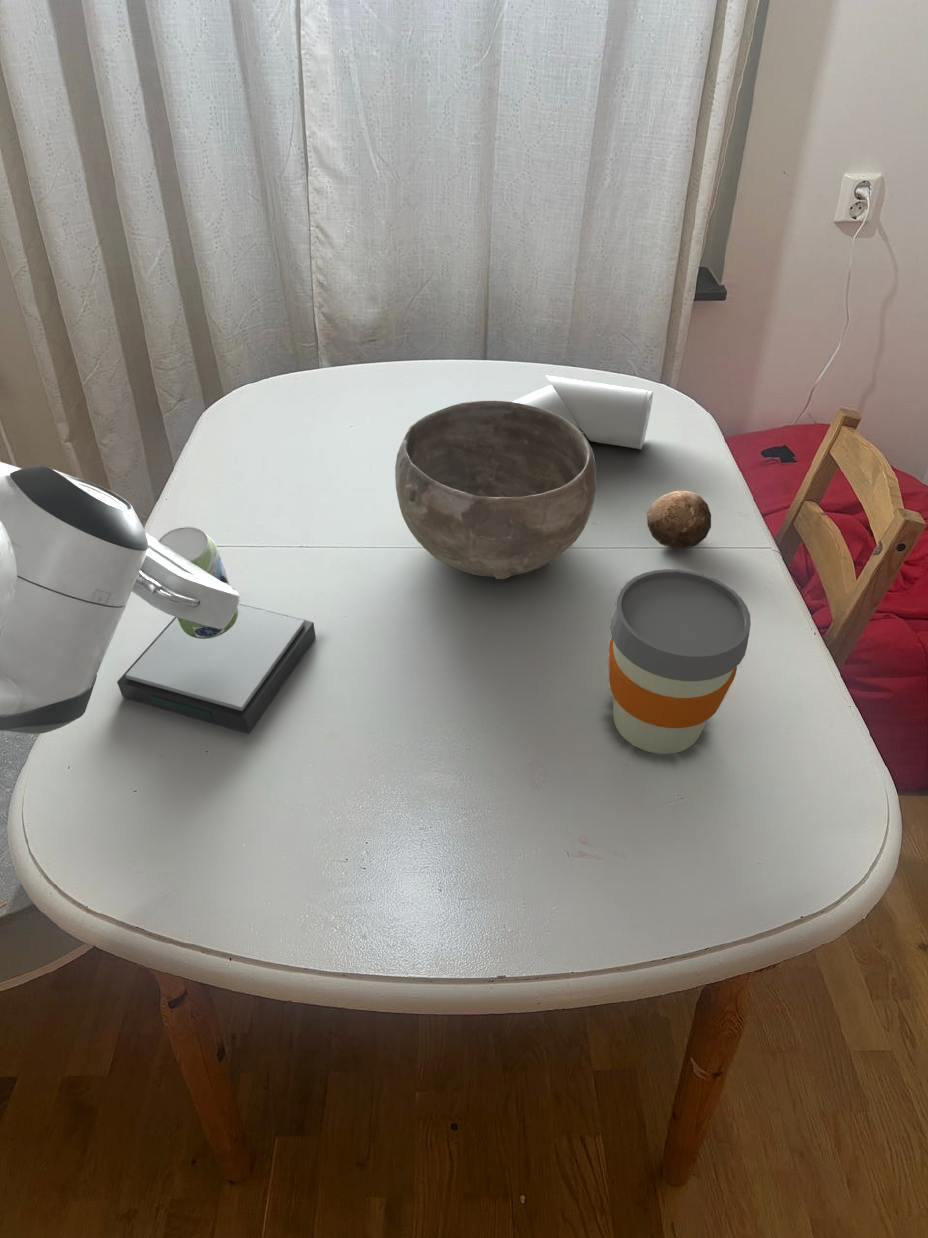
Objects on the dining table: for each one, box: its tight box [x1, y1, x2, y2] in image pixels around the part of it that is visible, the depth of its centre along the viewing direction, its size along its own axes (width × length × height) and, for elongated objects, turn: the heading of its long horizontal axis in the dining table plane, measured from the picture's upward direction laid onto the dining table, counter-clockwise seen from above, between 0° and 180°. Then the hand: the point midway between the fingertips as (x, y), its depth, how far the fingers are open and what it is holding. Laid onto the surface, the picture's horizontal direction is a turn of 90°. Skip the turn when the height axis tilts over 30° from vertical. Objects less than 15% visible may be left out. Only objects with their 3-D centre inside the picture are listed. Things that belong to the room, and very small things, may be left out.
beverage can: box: [158, 526, 238, 639], centre depth 85 cm, size 6×7×12 cm
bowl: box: [394, 400, 597, 580], centre depth 104 cm, size 24×24×15 cm
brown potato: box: [646, 490, 712, 549], centre depth 109 cm, size 8×8×6 cm
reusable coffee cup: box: [608, 568, 752, 755], centre depth 82 cm, size 13×13×15 cm
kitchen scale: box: [116, 603, 317, 735], centre depth 92 cm, size 15×15×3 cm
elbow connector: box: [512, 375, 654, 450], centre depth 125 cm, size 18×11×20 cm
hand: (207, 580), depth 85 cm, fingers closed on beverage can, 5 cm apart
